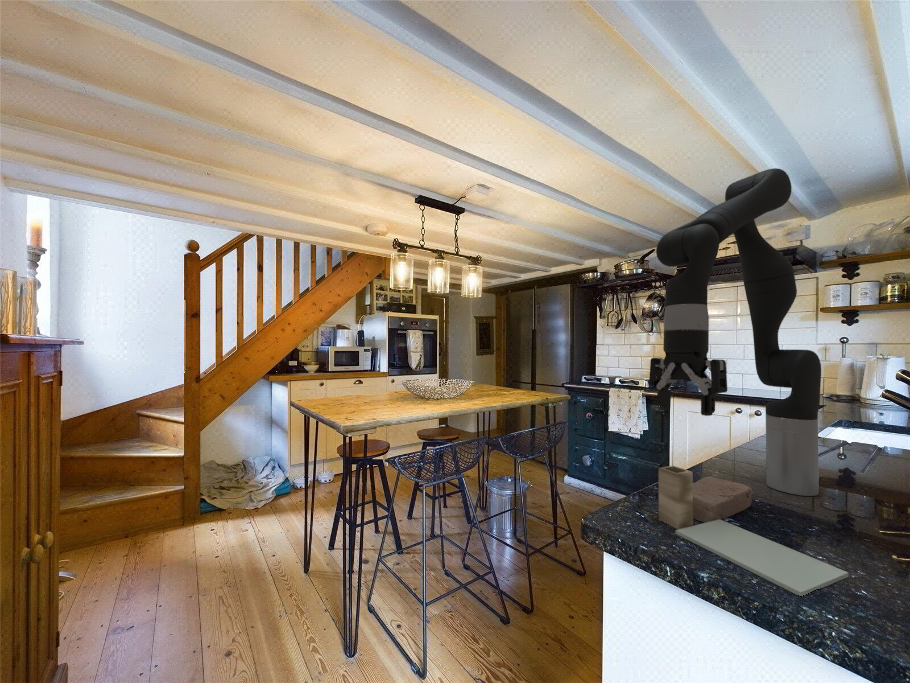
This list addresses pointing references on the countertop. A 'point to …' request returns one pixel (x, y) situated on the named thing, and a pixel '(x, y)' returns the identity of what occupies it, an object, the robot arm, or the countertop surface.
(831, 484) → the countertop surface
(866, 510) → the countertop surface
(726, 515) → the brick
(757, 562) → the flat grey rectangular slab
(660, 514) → the beech block
